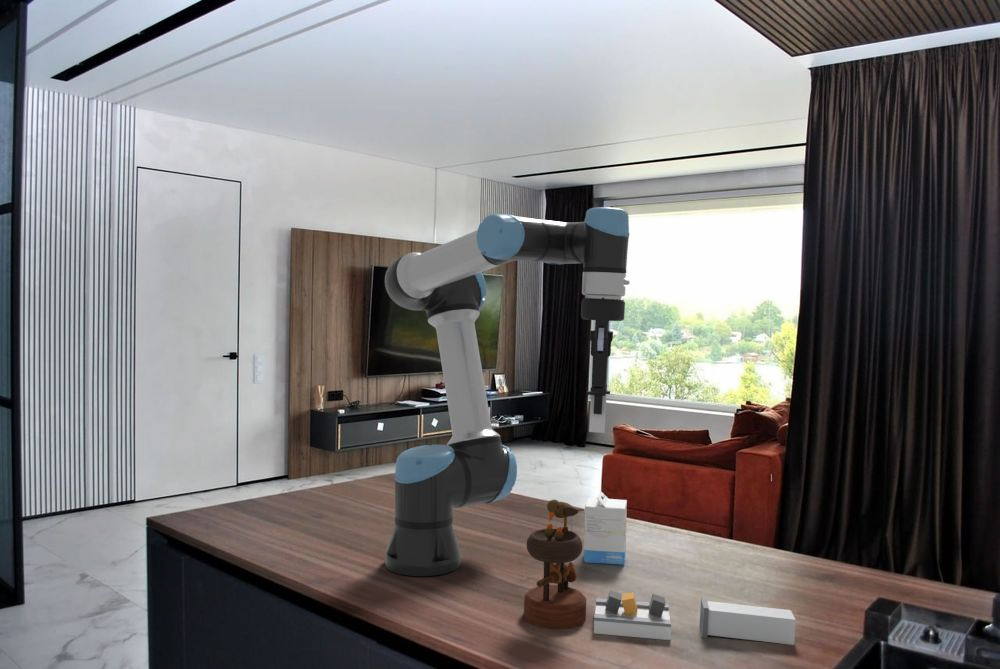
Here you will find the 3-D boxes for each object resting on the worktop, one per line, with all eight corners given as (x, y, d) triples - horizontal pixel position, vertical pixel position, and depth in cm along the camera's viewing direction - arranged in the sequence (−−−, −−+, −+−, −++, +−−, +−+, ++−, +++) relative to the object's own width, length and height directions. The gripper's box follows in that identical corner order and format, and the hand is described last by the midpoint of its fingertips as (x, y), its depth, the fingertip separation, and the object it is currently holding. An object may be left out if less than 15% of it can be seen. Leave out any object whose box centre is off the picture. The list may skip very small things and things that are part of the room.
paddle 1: (605, 609, 125) (609, 596, 125) (605, 603, 128) (610, 590, 128) (617, 614, 125) (621, 600, 125) (617, 607, 128) (621, 594, 128)
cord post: (703, 607, 122) (796, 618, 119) (701, 597, 126) (790, 606, 124) (702, 637, 122) (794, 648, 120) (699, 625, 127) (788, 636, 124)
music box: (537, 597, 138) (549, 487, 137) (596, 613, 134) (608, 500, 132) (502, 627, 124) (515, 506, 123) (566, 646, 120) (580, 520, 118)
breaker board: (593, 633, 123) (594, 617, 123) (596, 612, 132) (596, 597, 131) (670, 640, 121) (670, 624, 121) (667, 618, 130) (668, 603, 129)
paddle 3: (648, 613, 124) (653, 599, 124) (648, 607, 127) (652, 593, 127) (661, 617, 124) (665, 603, 124) (660, 611, 127) (664, 597, 126)
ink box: (624, 566, 156) (626, 500, 156) (583, 562, 158) (584, 497, 158) (626, 553, 165) (627, 491, 165) (587, 550, 167) (588, 488, 166)
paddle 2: (625, 614, 125) (621, 600, 125) (625, 608, 128) (622, 594, 128) (637, 612, 125) (633, 598, 125) (637, 606, 127) (633, 592, 127)
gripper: (625, 298, 127) (618, 440, 128) (625, 298, 140) (618, 427, 141) (579, 296, 128) (573, 436, 129) (583, 296, 141) (577, 424, 142)
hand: (596, 431), depth 135 cm, fingers closed
